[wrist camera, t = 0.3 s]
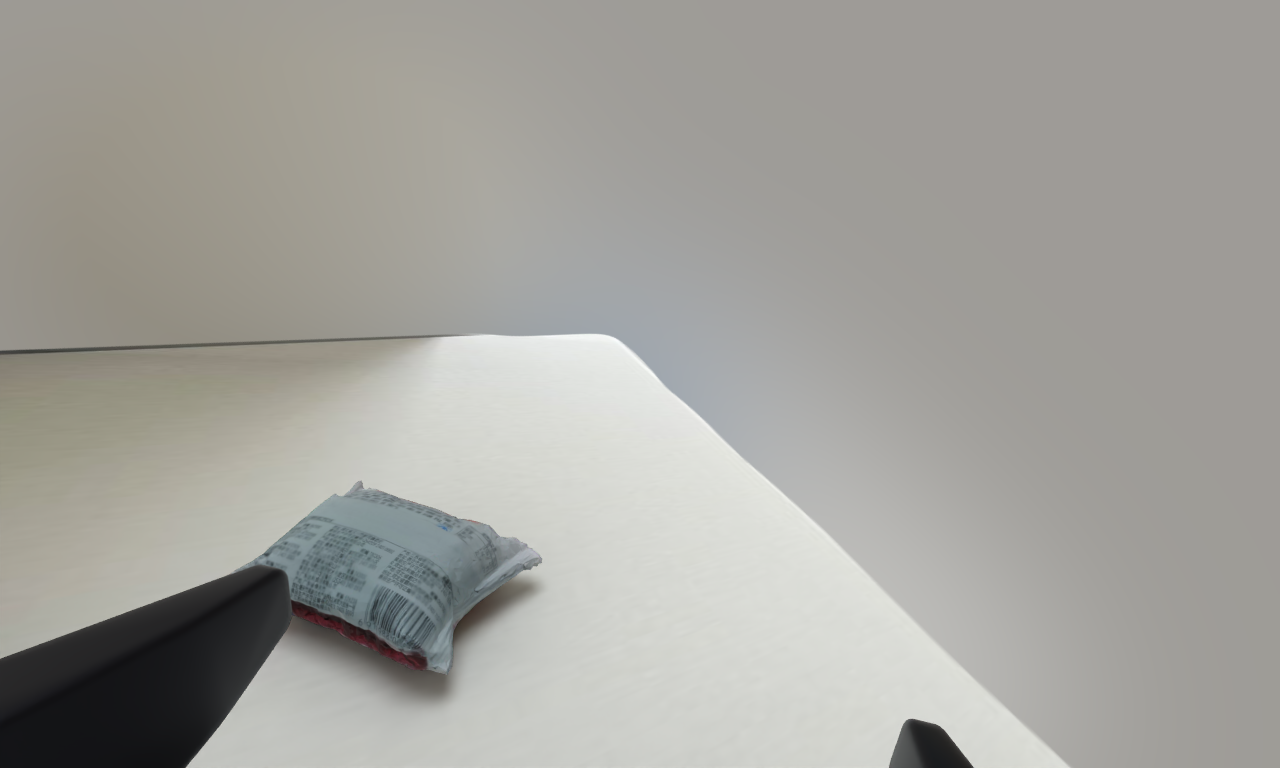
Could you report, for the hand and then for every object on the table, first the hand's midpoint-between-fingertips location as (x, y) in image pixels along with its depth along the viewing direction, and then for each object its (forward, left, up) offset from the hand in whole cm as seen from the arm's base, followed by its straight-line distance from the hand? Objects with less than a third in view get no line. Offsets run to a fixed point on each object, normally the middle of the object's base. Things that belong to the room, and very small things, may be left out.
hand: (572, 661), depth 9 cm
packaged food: (+17, +13, -17) cm, 27 cm away
